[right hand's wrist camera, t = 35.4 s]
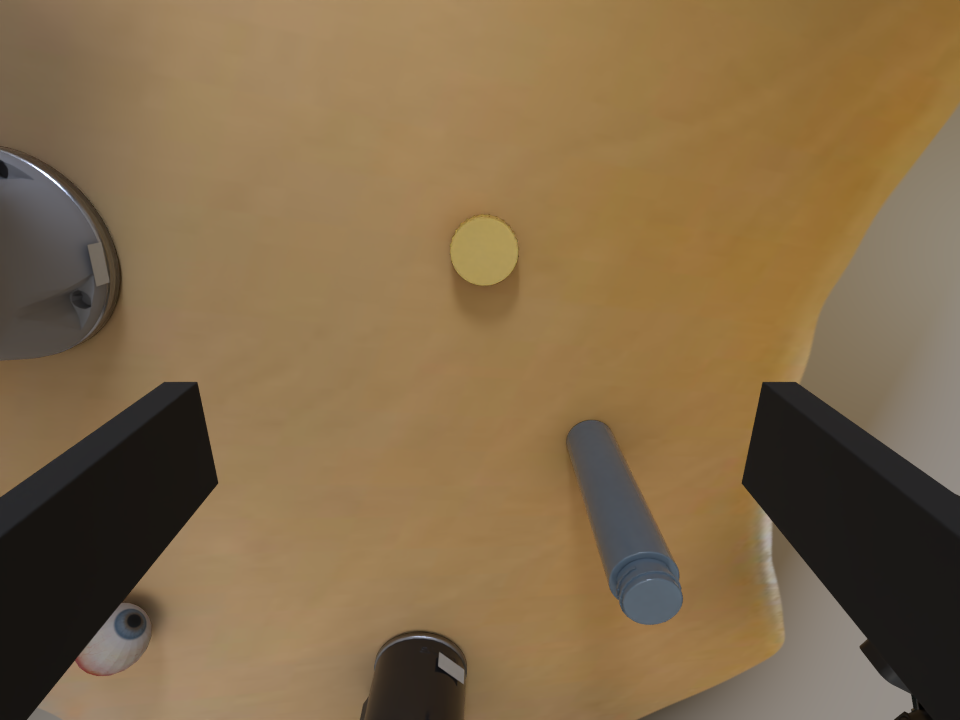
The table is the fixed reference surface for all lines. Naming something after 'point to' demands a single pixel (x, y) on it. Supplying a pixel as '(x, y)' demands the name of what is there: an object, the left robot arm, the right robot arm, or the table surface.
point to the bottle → (624, 527)
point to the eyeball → (117, 642)
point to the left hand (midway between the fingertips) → (816, 706)
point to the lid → (484, 250)
